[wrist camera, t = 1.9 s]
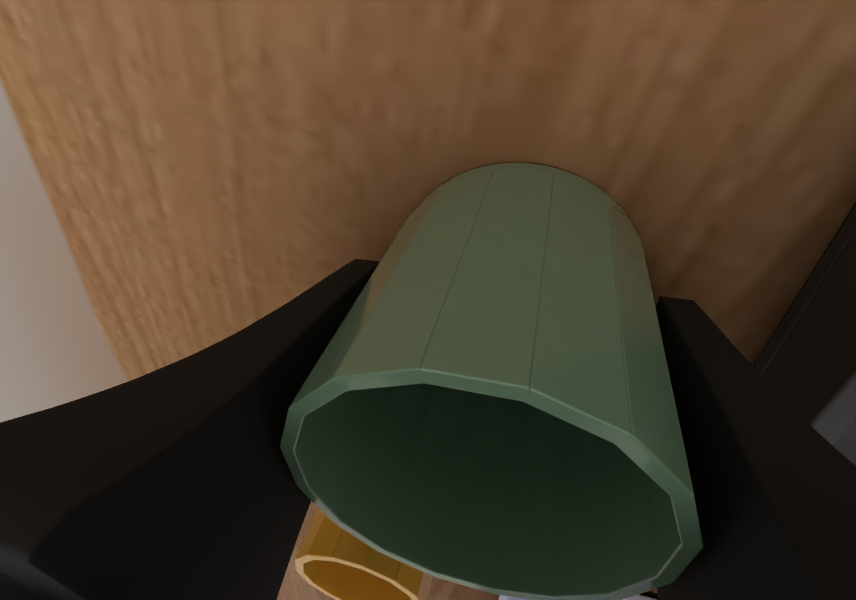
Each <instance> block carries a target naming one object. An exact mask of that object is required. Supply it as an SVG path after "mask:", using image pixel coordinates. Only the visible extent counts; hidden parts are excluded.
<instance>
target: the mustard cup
mask: <svg viewBox="0 0 856 600" xmlns="http://www.w3.org/2000/svg"><path fill="white" fill-rule="evenodd" d="M295 564H296V571H297V572H298V573H299V574H300V575H301V576H302V577H303V578H304V579H305V580H306V581H307V582H308V583H309V584H310V585H312V586H314V587H315V588H317V589H318V590H320V591H321V592H323V593H324V594H326V595H328V596H329V597H332V598H334V599H336V600H428V597H429V593H430V588H431V584H432V580H433V576H431V575H429V574H427V573H425V572H422V571H420V570H418V569H416V568H413V567H411V566H409V565H407V564H404V563H402V562H400V561H398V560H395V559H393V558H391V557H389V556H386V555H384V554H382V553H380V552H378V551H376V550H375V549H373V548H372V547H370V546H369V545H367V544H366V543H364V542H363V541H361V540H360V539H358V538H357V537H355V536H353V535H352V534H350V533H349V532H347V531H346V530H344V529H343V528H341V527H340V526H338V525H337V524H335V523H334V522H333V521H331V520H330V519H329V518H328V517H327V516H326V515H325V514H324V513H323V512H322V511H321V510H320V509H318V511H317V514H316V516H315V518H314V520H313V522H312V524H311V527H310V529H309V531H308V533H307V535H306V537H305V540H304V542H303V544H302V546H301V548H300V550H299V553H298V555H297V557H296V559H295Z"/></svg>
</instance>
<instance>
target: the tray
mask: <svg viewBox="0 0 856 600" xmlns="http://www.w3.org/2000/svg"><path fill="white" fill-rule="evenodd" d="M754 369H755V370H756V371H757V372H758V373H759V374H760V375H761V376H762V377H763V378H764V379H765V380H766V381H767V382H768V383H769V384H770V385H771V387H772V388H773V389H774V390H775V391H776V392H777V393H778V394H779V395H780V396H781V397H782V398H783V399H784V400H785V401H786V402H787V403H788V404H789V405H790V406H791V407H792V408H793V409H794V410H795V411H797V412H798V413H799V414H800V415H801V416H802V417H803V418H804V419H805V420H806V421H807V422H808V423H809V424H810V425H811V426H812V427H813V428H814V429H815V430H816V431H817V432H818V433H819V434H820V435H821V436H823V437H824V438H825V439H826V440H827V441H828V442H829V443H830V444H831V445H832V446H834V447H835V448H836V449H837V450H838V451H839V452H840V453H841V454H843V455H844V456H845V457H846V458H847V459H848V460H850V461H851V462H852V463H853V464H854V465H855V466H856V205H855V207H854V209H853V210H852V212H851V213H850V215H849V217H848V218H847V220H846V221H845V223H844V224H843V226H842V228H841V229H840V231H839V232H838V234H837V236H836V237H835V239H834V240H833V242H832V243H831V245H830V247H829V248H828V250H827V251H826V253H825V255H824V256H823V258H822V259H821V261H820V262H819V264H818V266H817V267H816V269H815V270H814V272H813V274H812V275H811V277H810V278H809V280H808V281H807V283H806V285H805V286H804V288H803V289H802V291H801V293H800V294H799V296H798V297H797V299H796V300H795V302H794V304H793V305H792V307H791V308H790V310H789V312H788V313H787V315H786V316H785V318H784V319H783V321H782V323H781V324H780V326H779V327H778V329H777V331H776V332H775V334H774V335H773V337H772V338H771V340H770V342H769V343H768V345H767V346H766V348H765V350H764V351H763V353H762V354H761V356H760V357H759V359H758V361H757V362H756V364H755V365H754Z"/></svg>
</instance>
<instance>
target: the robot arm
mask: <svg viewBox="0 0 856 600" xmlns="http://www.w3.org/2000/svg"><path fill="white" fill-rule="evenodd" d="M379 263H380V262H377V261H369V260H361V259H355V260H353V261H351V262H350V263H348V264H346V265H345V266H343V267H342V268H340V269H338V270H337V271H335V272H334V273H332V274H331V275H329V276H328V277H326V278H325V279H323V280H322V281H320V282H319V283H317V284H316V285H314V286H313V287H311V288H310V289H308V290H307V291H305V292H304V293H302V294H300V295H299V296H297V297H296V298H294V299H293V300H291V301H290V302H288V303H287V304H285V305H283V306H282V307H280V308H278V309H277V310H275V311H273V312H272V313H270V314H268V315H266V316H265V317H263V318H261V319H260V320H258V321H256V322H255V323H253V324H251V325H250V326H248V327H246V328H244V329H243V330H241V331H239V332H237V333H235V334H233V335H232V336H230V337H228V338H226V339H224V340H222V341H220V342H218V343H216V344H214V345H212V346H210V347H208V348H206V349H204V350H202V351H200V352H197V353H195V354H193V355H191V356H189V357H187V358H184V359H182V360H179V361H177V362H175V363H172V364H170V365H168V366H165V367H163V368H160V369H158V370H156V371H153V372H151V373H148V374H146V375H144V376H141V377H139V378H136V379H134V380H131V381H129V382H126V383H123V384H120V385H118V386H115V387H112V388H110V389H107V390H104V391H101V392H98V393H96V394H92V395H90V396H87V397H83V398H81V399H78V400H75V401H72V402H69V403H66V404H62V405H59V406H56V407H53V408H50V409H46V410H43V411H39V412H36V413H33V414H29V415H26V416H22V417H18V418H15V419H12V420H8V421H5V422H1V423H0V600H277V596H278V593H279V590H280V587H281V584H282V581H283V578H284V575H285V572H286V569H287V567H288V564H289V561H290V558H291V555H292V552H293V549H294V546H295V543H296V540H297V537H298V535H299V532H300V529H301V527H302V524H303V521H304V518H305V516H306V513H307V510H308V508H309V505H310V502H311V500H310V499H309V498H308V497H307V496H306V495H305V494H304V493H303V491H302V490H301V489H300V488H299V487H298V486H297V485H296V483H295V481H294V478H293V476H292V474H291V472H290V469H289V467H288V465H287V462H286V460H285V458H284V456H283V453H282V451H281V449H280V442H281V438H282V433H283V429H284V425H285V421H286V417H287V413H288V409H289V407H290V405H291V403H292V402H293V400H294V399H295V397H296V395H297V394H298V392H299V391H300V389H301V387H302V386H303V384H304V383H305V381H306V379H307V378H308V376H309V375H310V373H311V372H312V370H313V368H314V367H315V365H316V364H317V362H318V360H319V359H320V357H321V356H322V354H323V352H324V351H325V349H326V348H327V346H328V344H329V343H330V341H331V340H332V338H333V336H334V335H335V333H336V332H337V330H338V328H339V327H340V325H341V324H342V322H343V320H344V319H345V317H346V316H347V314H348V312H349V311H350V309H351V308H352V306H353V304H354V303H355V301H356V300H357V298H358V296H359V295H360V293H361V292H362V290H363V288H364V287H365V285H366V284H367V282H368V281H369V279H370V277H371V276H372V274H373V273H374V271H375V269H376V268H377V266H378V265H379ZM656 312H657V317H658V322H659V326H660V331H661V336H662V341H663V346H664V351H665V355H666V360H667V365H668V370H669V375H670V379H671V384H672V389H673V394H674V399H675V403H676V408H677V413H678V418H679V423H680V428H681V432H682V437H683V442H684V447H685V452H686V456H687V461H688V466H689V471H690V476H691V480H692V485H693V490H694V495H695V500H696V506H697V511H698V517H699V522H700V527H701V533H702V538H703V544H704V545H703V549H702V550H701V551H700V552H699V553H698V555H697V556H696V557H695V558H694V559H693V560H692V562H691V563H690V564H689V565H688V566H687V567H686V569H685V570H684V571H683V572H682V573H681V575H680V576H679V577H678V578H677V579H676V580H675V582H673V583H672V584H669V585H666V586H663V587H660V588H658V599H654V598H651V597H647V596H643V595H639V594H638V595H635V596H632V597H629V598H626V599H623V600H856V466H855V465H854V464H853V463H852V462H851V461H850V460H848V459H847V458H846V457H845V456H844V455H843V454H841V453H840V452H839V451H838V450H837V449H836V448H835V447H834V446H832V445H831V444H830V443H829V442H828V441H827V440H826V439H825V438H824V437H823V436H821V435H820V434H819V433H818V432H817V431H816V430H815V429H814V428H813V427H812V426H811V425H810V424H809V423H808V422H807V421H806V420H805V419H804V418H803V417H802V416H801V415H800V414H799V413H798V412H797V411H795V410H794V409H793V408H792V407H791V406H790V405H789V404H788V403H787V402H786V401H785V400H784V399H783V398H782V397H781V396H780V395H779V394H778V393H777V392H776V391H775V390H774V389H773V388H772V387H771V385H770V384H769V383H768V382H767V381H766V380H765V379H764V378H763V377H762V376H761V375H760V374H759V373H758V372H757V371H756V370H755V369H754V367H753V366H752V365H751V364H750V363H749V362H748V361H747V360H746V359H745V358H744V357H743V355H742V354H741V353H740V352H739V351H738V350H737V349H736V348H735V347H734V345H733V344H732V343H731V342H730V341H729V340H728V339H727V337H726V336H725V335H724V334H723V333H722V332H721V331H720V330H719V328H718V327H717V326H716V325H715V324H714V323H713V322H712V320H711V319H710V318H709V317H708V316H707V315H706V314H705V312H704V311H703V310H702V309H701V308H700V307H699V306H698V305H697V304H696V303H695V302H694V301H693V300H685V299H677V298H669V297H661V296H660V298H659V300H658V303H657V306H656ZM498 600H532V599H525V598H518V597H511V596H503V595H499V599H498Z"/></svg>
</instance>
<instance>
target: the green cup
mask: <svg viewBox="0 0 856 600" xmlns="http://www.w3.org/2000/svg"><path fill="white" fill-rule="evenodd" d="M280 449H281V451H282V453H283V456H284V458H285V460H286V462H287V465H288V467H289V469H290V472H291V474H292V476H293V478H294V481H295V483H296V485H297V486H298V487H299V488H300V489H301V490H302V491H303V493H304V494H305V495H306V496H307V497H308V498H309V499H310V500H311V501H312V502H313V503H314V504H315V505H316V506H317V507H318V508H319V509H320V510H321V511H322V512H323V513H324V514H325V515H326V516H327V517H328V518H329V519H330V520H331V521H333V522H334V523H335V524H337V525H338V526H340V527H341V528H343V529H344V530H346V531H347V532H349V533H350V534H352V535H353V536H355V537H357V538H358V539H360V540H361V541H363V542H364V543H366V544H367V545H369V546H370V547H372V548H373V549H375V550H376V551H378V552H380V553H382V554H384V555H386V556H389V557H391V558H393V559H395V560H398V561H400V562H402V563H404V564H407V565H409V566H411V567H413V568H416V569H418V570H420V571H422V572H425V573H427V574H429V575H431V576H435V577H437V578H440V579H443V580H447V581H450V582H454V583H457V584H461V585H464V586H468V587H471V588H475V589H478V590H482V591H485V592H489V593H492V594H496V595H503V596H511V597H518V598H525V599H532V600H623V599H626V598H629V597H632V596H635V595H638V594H642V593H645V592H648V591H651V590H654V589H657V588H660V587H663V586H666V585H669V584H672V583H673V582H675V580H676V579H677V578H678V577H679V576H680V575H681V573H682V572H683V571H684V570H685V569H686V567H687V566H688V565H689V564H690V563H691V562H692V560H693V559H694V558H695V557H696V556H697V555H698V553H699V552H700V551H701V550H702V549H703V545H704V544H703V538H702V533H701V527H700V522H699V517H698V511H697V506H696V500H695V495H694V490H693V485H692V480H691V476H690V471H689V466H688V461H687V456H686V452H685V447H684V442H683V437H682V432H681V428H680V423H679V418H678V413H677V408H676V403H675V399H674V394H673V389H672V384H671V379H670V375H669V370H668V365H667V360H666V355H665V351H664V346H663V341H662V336H661V331H660V326H659V322H658V317H657V312H656V307H655V302H654V298H653V293H652V288H651V283H650V278H649V274H648V269H647V264H646V259H645V254H644V250H643V245H642V240H641V238H640V236H639V235H638V233H637V231H636V229H635V227H634V225H633V223H632V222H631V220H630V219H629V217H628V216H627V215H626V213H625V212H624V210H623V209H622V208H621V207H620V206H619V205H618V204H617V203H616V202H615V201H614V200H613V199H612V198H611V197H610V196H609V195H607V194H606V193H605V192H604V191H602V190H601V189H600V188H598V187H597V186H595V185H594V184H592V183H590V182H588V181H587V180H585V179H583V178H581V177H579V176H577V175H574V174H572V173H569V172H567V171H564V170H561V169H557V168H553V167H549V166H545V165H538V164H530V163H502V164H494V165H487V166H484V167H480V168H476V169H472V170H469V171H467V172H465V173H462V174H460V175H457V176H455V177H453V178H452V179H450V180H448V181H446V182H445V183H443V184H441V185H440V186H439V187H438V188H436V189H435V190H434V191H432V192H431V193H430V194H429V195H428V196H427V197H426V198H425V199H424V200H423V201H422V202H421V203H420V204H419V206H418V207H417V209H416V210H415V211H414V212H413V213H411V214H410V215H409V217H408V218H407V220H406V221H405V223H404V225H403V226H402V228H401V229H400V231H399V233H398V234H397V236H396V237H395V239H394V241H393V242H392V244H391V245H390V247H389V249H388V250H387V252H386V253H385V255H384V257H383V258H382V260H381V261H380V263H379V265H378V266H377V268H376V269H375V271H374V273H373V274H372V276H371V277H370V279H369V281H368V282H367V284H366V285H365V287H364V288H363V290H362V292H361V293H360V295H359V296H358V298H357V300H356V301H355V303H354V304H353V306H352V308H351V309H350V311H349V312H348V314H347V316H346V317H345V319H344V320H343V322H342V324H341V325H340V327H339V328H338V330H337V332H336V333H335V335H334V336H333V338H332V340H331V341H330V343H329V344H328V346H327V348H326V349H325V351H324V352H323V354H322V356H321V357H320V359H319V360H318V362H317V364H316V365H315V367H314V368H313V370H312V372H311V373H310V375H309V376H308V378H307V379H306V381H305V383H304V384H303V386H302V387H301V389H300V391H299V392H298V394H297V395H296V397H295V399H294V400H293V402H292V403H291V405H290V407H289V409H288V413H287V417H286V421H285V425H284V429H283V433H282V438H281V442H280Z"/></svg>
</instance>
